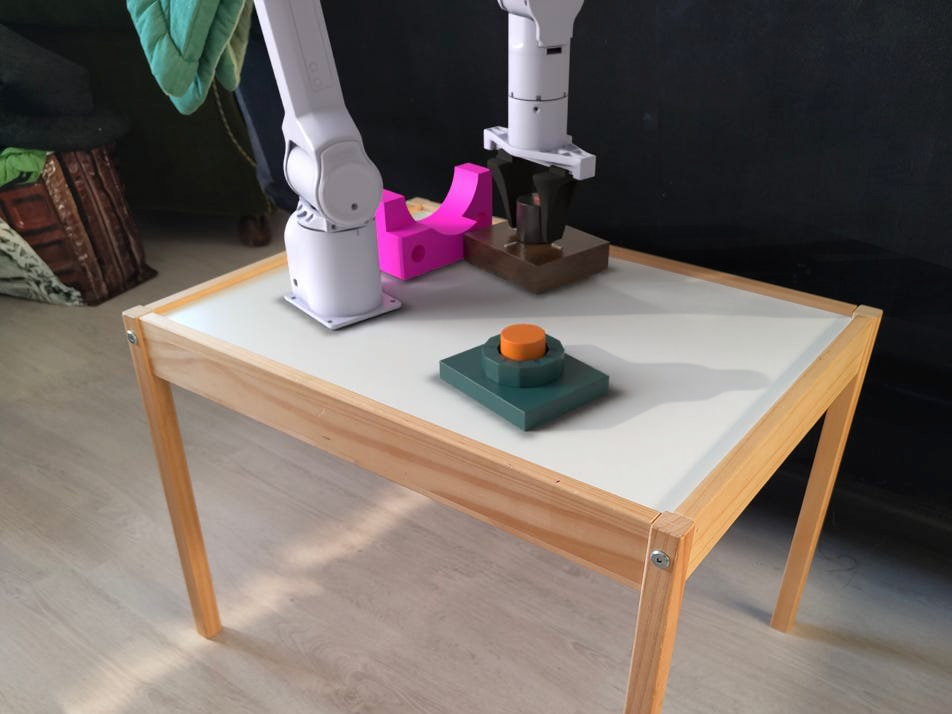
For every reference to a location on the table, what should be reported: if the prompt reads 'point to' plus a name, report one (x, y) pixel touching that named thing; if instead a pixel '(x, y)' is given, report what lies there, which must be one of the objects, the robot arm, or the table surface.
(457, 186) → the toy block
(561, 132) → the robot arm
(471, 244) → the dial panel
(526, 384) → the button base
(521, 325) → the button
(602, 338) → the table surface
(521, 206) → the heat dial
